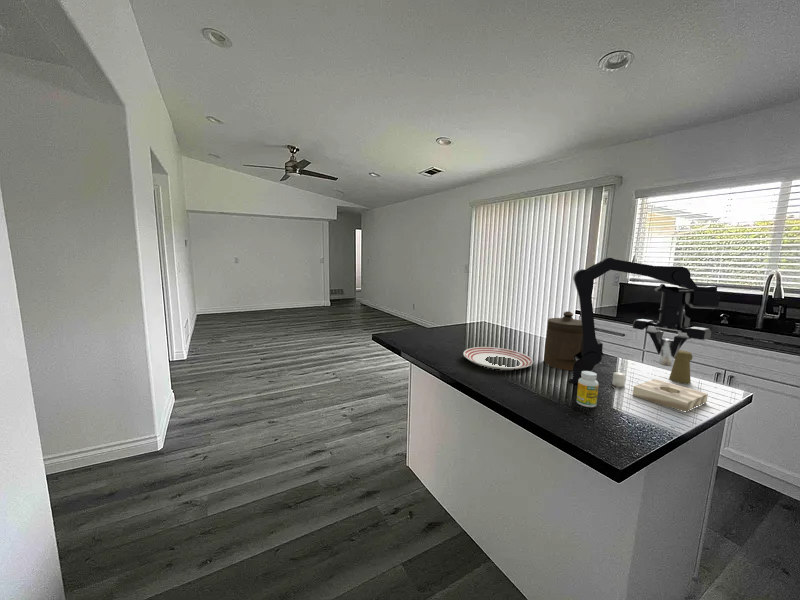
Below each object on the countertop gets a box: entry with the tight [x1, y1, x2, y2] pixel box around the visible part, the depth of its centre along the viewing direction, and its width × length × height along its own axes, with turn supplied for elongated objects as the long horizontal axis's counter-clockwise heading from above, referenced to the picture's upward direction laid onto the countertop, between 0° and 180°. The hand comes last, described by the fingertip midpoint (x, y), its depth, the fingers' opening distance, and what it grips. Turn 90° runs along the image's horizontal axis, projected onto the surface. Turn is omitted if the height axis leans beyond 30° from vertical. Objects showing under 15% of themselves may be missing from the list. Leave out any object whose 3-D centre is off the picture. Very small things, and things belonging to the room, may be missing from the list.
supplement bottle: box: [576, 371, 599, 408], centre depth 101 cm, size 5×5×10 cm
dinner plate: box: [462, 346, 534, 371], centre depth 140 cm, size 28×27×3 cm
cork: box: [668, 349, 693, 385], centre depth 123 cm, size 6×6×11 cm
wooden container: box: [543, 311, 583, 371], centre depth 138 cm, size 15×15×22 cm
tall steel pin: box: [658, 338, 674, 367], centre depth 108 cm, size 4×4×8 cm
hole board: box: [632, 378, 709, 412], centre depth 107 cm, size 14×14×3 cm
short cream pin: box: [611, 371, 626, 388], centre depth 118 cm, size 4×4×4 cm
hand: (666, 355), depth 108 cm, fingers closed on tall steel pin, 3 cm apart
